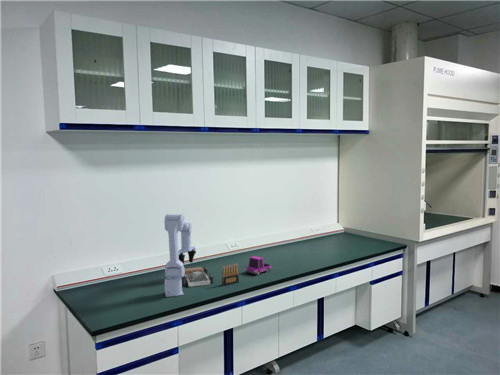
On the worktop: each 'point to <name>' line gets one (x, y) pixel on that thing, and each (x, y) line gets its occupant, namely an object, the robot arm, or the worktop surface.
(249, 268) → the toy truck
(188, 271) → the chassis
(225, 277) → the ammunition clip
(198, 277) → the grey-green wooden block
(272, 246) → the worktop surface
